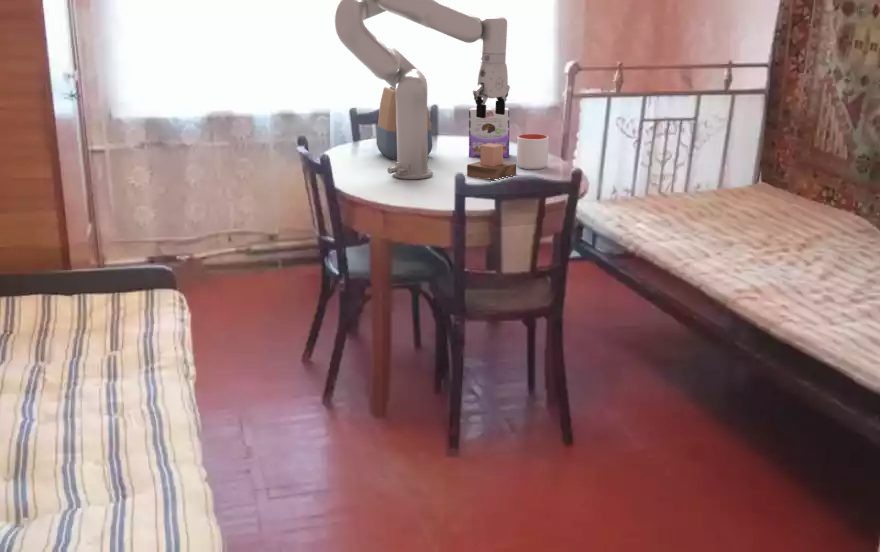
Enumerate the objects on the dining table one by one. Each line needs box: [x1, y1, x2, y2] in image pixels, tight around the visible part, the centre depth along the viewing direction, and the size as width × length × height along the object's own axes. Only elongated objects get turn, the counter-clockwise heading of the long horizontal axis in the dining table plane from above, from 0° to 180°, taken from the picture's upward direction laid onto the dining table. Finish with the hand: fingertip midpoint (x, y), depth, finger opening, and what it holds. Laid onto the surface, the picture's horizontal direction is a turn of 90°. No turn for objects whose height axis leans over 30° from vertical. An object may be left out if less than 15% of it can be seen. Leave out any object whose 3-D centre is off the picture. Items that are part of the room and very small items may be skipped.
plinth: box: [466, 161, 517, 180], centre depth 296 cm, size 11×11×4 cm
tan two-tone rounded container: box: [376, 86, 433, 161], centre depth 323 cm, size 17×17×23 cm
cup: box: [516, 133, 550, 171], centre depth 307 cm, size 10×10×10 cm
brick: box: [480, 143, 504, 167], centre depth 295 cm, size 5×5×6 cm
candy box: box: [468, 106, 511, 158], centre depth 323 cm, size 14×6×16 cm, turn 84°
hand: (490, 115), depth 291 cm, fingers open, 9 cm apart
